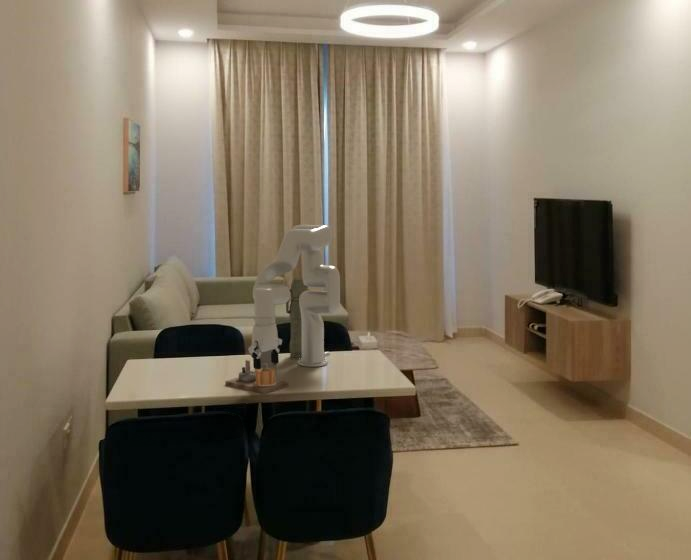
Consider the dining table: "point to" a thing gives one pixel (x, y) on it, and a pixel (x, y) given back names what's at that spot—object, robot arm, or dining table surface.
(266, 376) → the loose gear
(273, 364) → the skincare box
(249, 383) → the gear board
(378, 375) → the dining table surface
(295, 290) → the thermos
